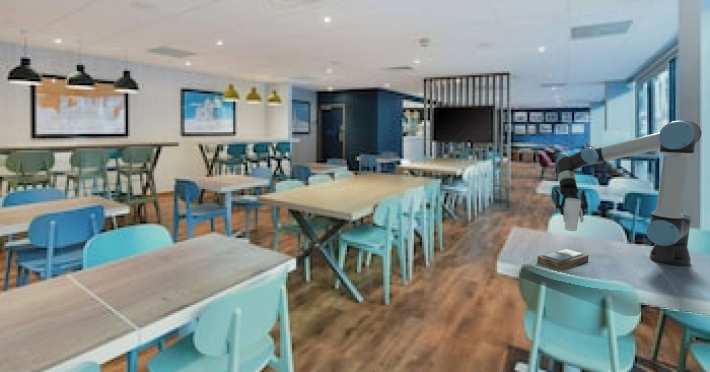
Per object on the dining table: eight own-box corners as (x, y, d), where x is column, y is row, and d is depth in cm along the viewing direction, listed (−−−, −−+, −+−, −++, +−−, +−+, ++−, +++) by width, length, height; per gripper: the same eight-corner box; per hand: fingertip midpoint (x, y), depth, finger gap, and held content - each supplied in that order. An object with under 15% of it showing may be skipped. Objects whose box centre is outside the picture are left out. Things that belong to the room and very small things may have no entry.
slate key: (570, 263, 185) (570, 256, 185) (559, 267, 181) (560, 260, 180) (553, 259, 192) (554, 252, 191) (543, 262, 188) (543, 255, 187)
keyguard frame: (588, 261, 190) (588, 255, 189) (561, 270, 179) (561, 263, 178) (564, 254, 199) (564, 248, 199) (537, 262, 188) (537, 256, 188)
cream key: (582, 260, 190) (582, 253, 190) (572, 263, 186) (573, 256, 186) (565, 255, 197) (566, 248, 197) (556, 258, 193) (556, 251, 192)
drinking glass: (580, 232, 193) (583, 201, 191) (565, 231, 194) (567, 200, 192) (575, 228, 200) (578, 198, 197) (560, 227, 201) (563, 198, 198)
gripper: (586, 186, 206) (594, 226, 193) (545, 185, 211) (549, 223, 198) (591, 177, 200) (599, 217, 187) (548, 176, 205) (553, 215, 192)
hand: (573, 220), depth 193 cm, fingers closed on drinking glass, 6 cm apart
